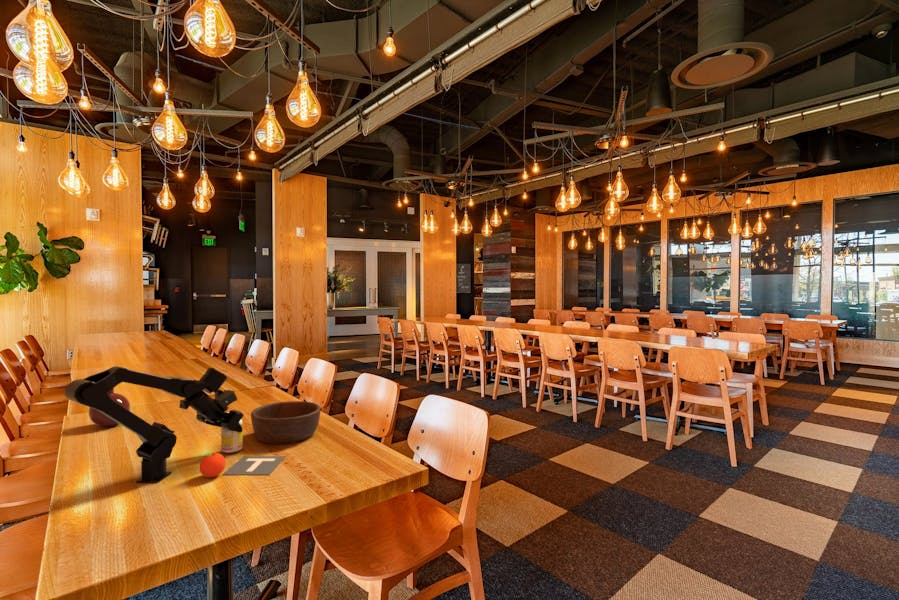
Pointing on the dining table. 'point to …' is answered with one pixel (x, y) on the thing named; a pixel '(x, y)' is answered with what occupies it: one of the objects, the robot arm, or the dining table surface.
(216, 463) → the clementine
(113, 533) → the dining table surface
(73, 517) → the dining table surface
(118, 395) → the round-bottom flask
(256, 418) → the wooden bowl
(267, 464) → the letter tile
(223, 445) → the supplement bottle
